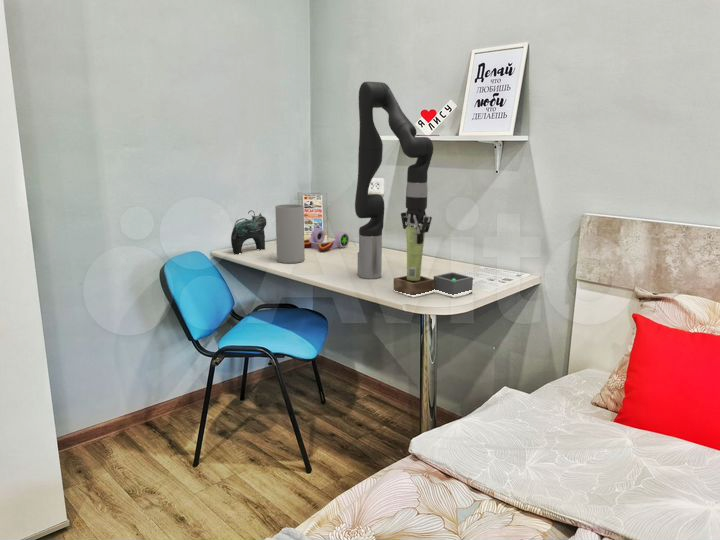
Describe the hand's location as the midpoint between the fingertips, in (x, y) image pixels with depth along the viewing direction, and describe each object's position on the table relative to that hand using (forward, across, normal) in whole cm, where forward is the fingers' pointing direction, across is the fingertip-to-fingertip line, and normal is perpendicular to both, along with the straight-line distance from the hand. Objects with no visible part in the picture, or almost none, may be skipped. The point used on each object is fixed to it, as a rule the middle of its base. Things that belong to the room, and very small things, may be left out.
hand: (415, 242), depth 202 cm
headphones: (+20, -89, +20) cm, 93 cm away
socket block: (+18, +9, +11) cm, 23 cm away
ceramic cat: (+20, -102, -14) cm, 105 cm away
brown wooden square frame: (+19, 0, 0) cm, 19 cm away
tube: (+14, 0, 0) cm, 14 cm away
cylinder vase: (+20, -72, -9) cm, 75 cm away
